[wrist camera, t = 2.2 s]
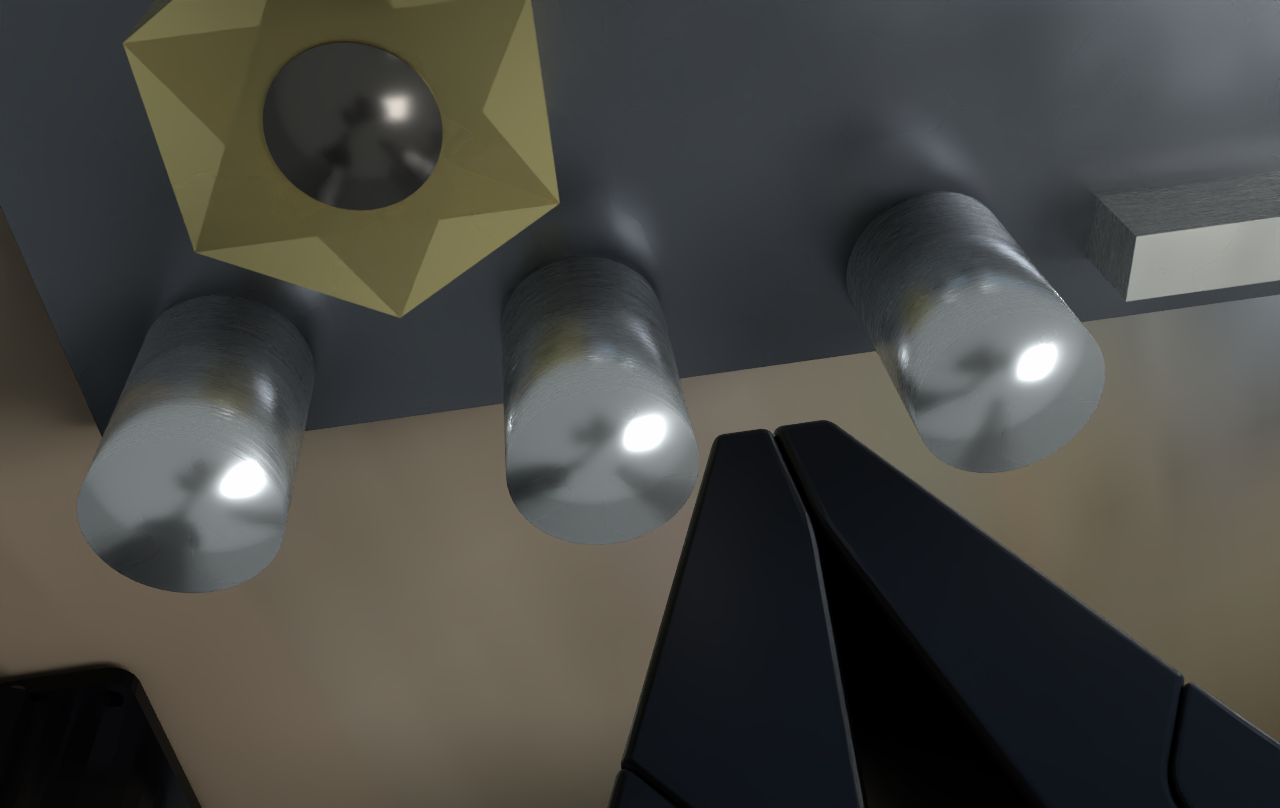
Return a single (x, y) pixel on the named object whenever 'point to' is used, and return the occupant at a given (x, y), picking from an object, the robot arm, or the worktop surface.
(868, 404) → the worktop surface
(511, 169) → the hex nut
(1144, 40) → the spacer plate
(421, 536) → the worktop surface
